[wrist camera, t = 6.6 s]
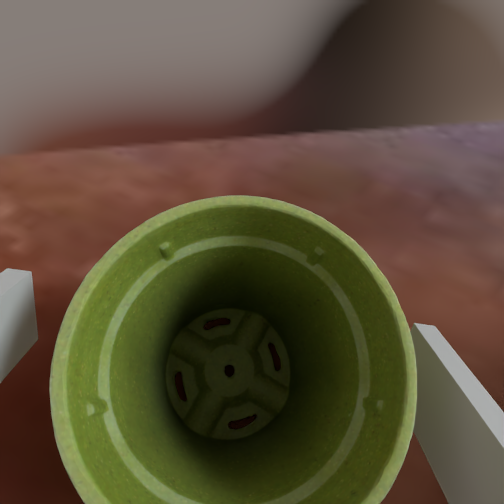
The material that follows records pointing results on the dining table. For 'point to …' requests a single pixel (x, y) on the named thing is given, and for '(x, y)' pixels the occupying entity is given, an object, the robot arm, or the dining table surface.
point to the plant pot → (234, 364)
